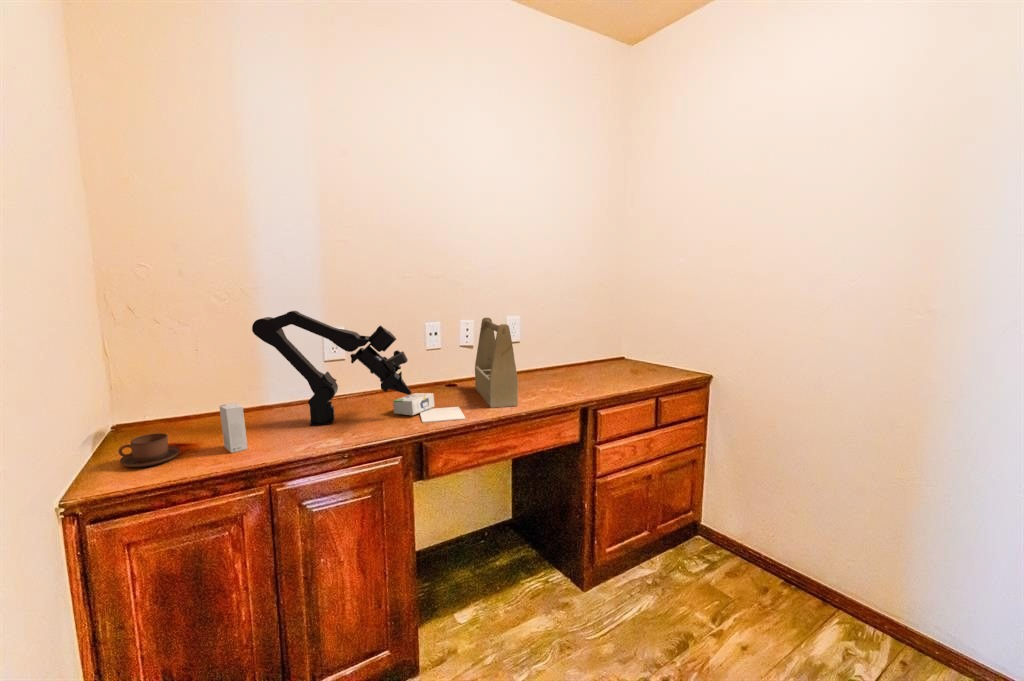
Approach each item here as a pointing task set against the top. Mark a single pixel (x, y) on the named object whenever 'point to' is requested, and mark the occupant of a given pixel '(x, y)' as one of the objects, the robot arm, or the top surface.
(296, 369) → the robot arm
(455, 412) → the mat
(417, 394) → the ink box
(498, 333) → the caddy
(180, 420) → the top surface
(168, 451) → the cup and saucer
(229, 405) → the skincare box
